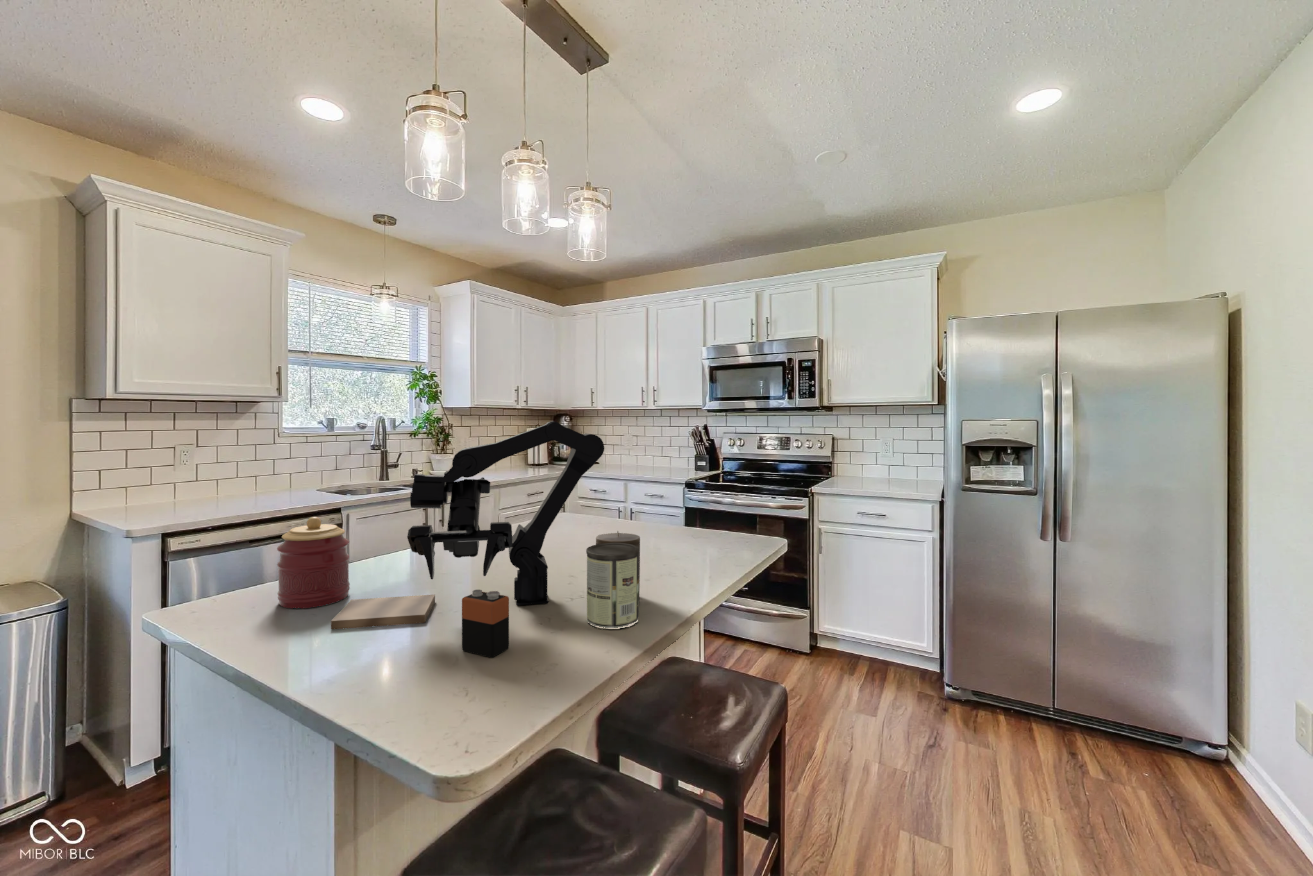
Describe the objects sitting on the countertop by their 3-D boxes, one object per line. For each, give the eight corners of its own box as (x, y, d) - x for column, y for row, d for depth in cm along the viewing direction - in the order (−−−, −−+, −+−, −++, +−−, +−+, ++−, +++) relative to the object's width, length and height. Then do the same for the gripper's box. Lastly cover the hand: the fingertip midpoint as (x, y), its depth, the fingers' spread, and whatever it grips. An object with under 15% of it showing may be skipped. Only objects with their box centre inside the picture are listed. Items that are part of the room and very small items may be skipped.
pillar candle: (629, 609, 111) (631, 536, 111) (586, 603, 115) (588, 532, 114) (645, 595, 121) (647, 528, 120) (605, 590, 124) (606, 525, 123)
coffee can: (602, 607, 112) (603, 540, 112) (647, 615, 108) (648, 545, 107) (575, 625, 103) (575, 551, 102) (623, 634, 99) (624, 557, 98)
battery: (492, 659, 88) (492, 598, 87) (460, 651, 91) (460, 592, 90) (510, 649, 92) (510, 590, 91) (478, 641, 95) (478, 585, 94)
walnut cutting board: (435, 601, 115) (435, 594, 114) (424, 622, 103) (424, 614, 103) (351, 607, 111) (351, 599, 111) (331, 629, 99) (330, 621, 99)
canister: (361, 589, 122) (360, 511, 122) (328, 610, 109) (327, 523, 109) (302, 589, 122) (301, 511, 121) (262, 610, 109) (261, 522, 108)
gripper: (513, 526, 118) (512, 593, 108) (422, 530, 114) (411, 600, 104) (511, 496, 110) (510, 565, 99) (412, 499, 106) (400, 571, 95)
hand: (458, 576), depth 100 cm, fingers open, 9 cm apart
